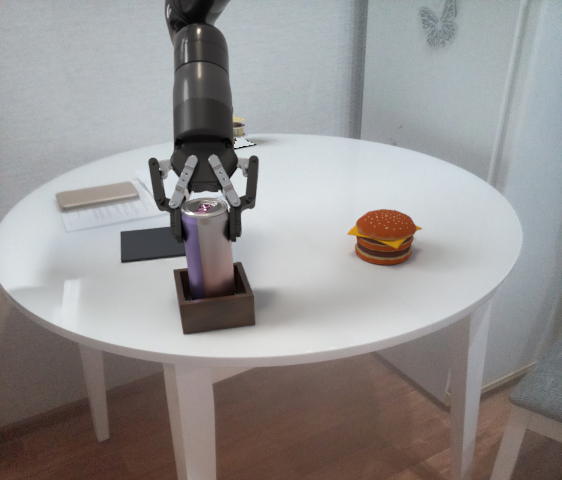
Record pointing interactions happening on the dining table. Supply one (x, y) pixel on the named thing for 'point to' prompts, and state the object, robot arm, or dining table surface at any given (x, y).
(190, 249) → the beverage can
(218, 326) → the box
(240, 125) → the stacked layers on plate
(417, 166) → the dining table surface
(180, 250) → the mat
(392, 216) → the hamburger
